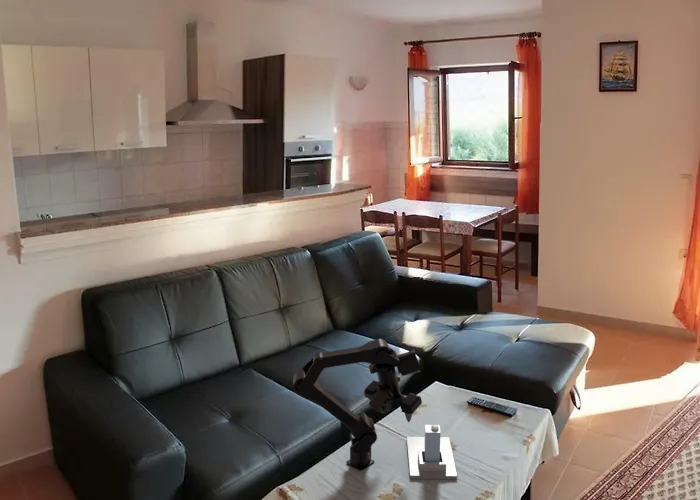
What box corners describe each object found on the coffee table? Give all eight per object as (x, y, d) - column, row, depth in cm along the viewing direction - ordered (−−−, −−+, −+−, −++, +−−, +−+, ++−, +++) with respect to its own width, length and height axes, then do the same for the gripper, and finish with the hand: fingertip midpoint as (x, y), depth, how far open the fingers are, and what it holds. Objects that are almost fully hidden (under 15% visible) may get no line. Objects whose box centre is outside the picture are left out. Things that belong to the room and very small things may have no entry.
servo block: (425, 467, 199) (425, 429, 196) (424, 459, 203) (425, 422, 200) (439, 467, 199) (440, 430, 196) (438, 459, 203) (439, 422, 200)
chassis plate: (457, 479, 195) (457, 468, 194) (410, 478, 196) (410, 468, 195) (448, 440, 216) (449, 430, 215) (406, 440, 217) (406, 430, 216)
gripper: (348, 386, 200) (359, 423, 207) (396, 404, 188) (406, 443, 195) (370, 364, 207) (380, 401, 214) (418, 380, 195) (427, 419, 202)
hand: (397, 416), depth 206 cm, fingers open, 9 cm apart
